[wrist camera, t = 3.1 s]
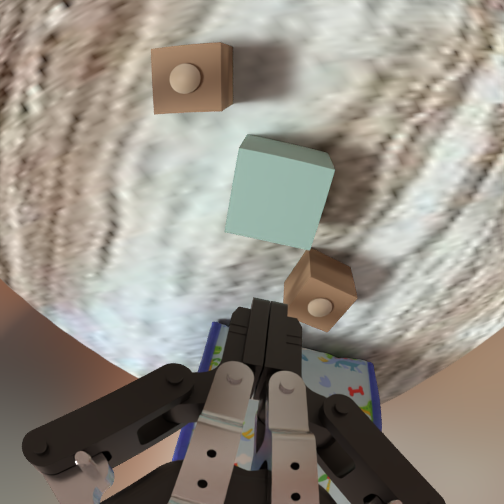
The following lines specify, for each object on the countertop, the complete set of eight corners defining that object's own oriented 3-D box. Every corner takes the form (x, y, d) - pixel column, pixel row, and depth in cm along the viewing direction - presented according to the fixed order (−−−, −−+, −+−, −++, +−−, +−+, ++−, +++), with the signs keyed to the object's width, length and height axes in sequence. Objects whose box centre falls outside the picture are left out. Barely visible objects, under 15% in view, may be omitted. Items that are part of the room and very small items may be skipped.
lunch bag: (192, 384, 46) (150, 542, 24) (208, 310, 37) (144, 535, 16) (328, 411, 47) (327, 563, 25) (379, 349, 38) (405, 548, 16)
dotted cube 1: (308, 246, 32) (310, 278, 27) (350, 266, 32) (357, 299, 28) (284, 282, 34) (282, 315, 30) (324, 299, 35) (327, 333, 31)
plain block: (247, 134, 27) (238, 147, 22) (327, 152, 27) (335, 170, 22) (234, 206, 30) (224, 232, 26) (307, 222, 30) (309, 250, 26)
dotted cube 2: (174, 50, 23) (149, 49, 18) (232, 46, 22) (219, 42, 18) (176, 105, 26) (153, 114, 21) (233, 103, 25) (220, 111, 21)
